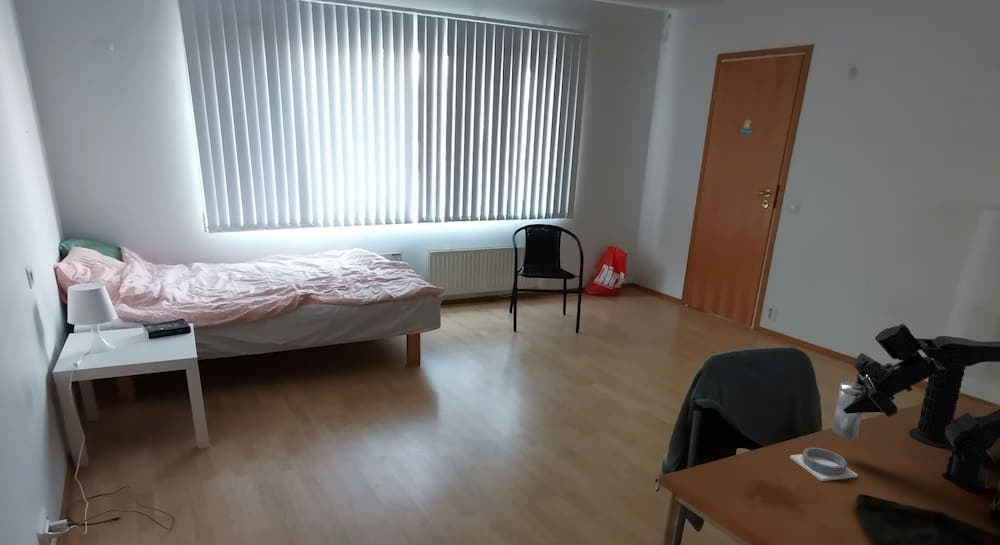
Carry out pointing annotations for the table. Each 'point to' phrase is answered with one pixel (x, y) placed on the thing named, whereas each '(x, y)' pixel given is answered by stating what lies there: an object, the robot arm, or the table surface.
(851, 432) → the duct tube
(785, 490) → the table surface
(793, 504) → the table surface
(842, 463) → the flange collar
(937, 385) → the handle grip
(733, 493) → the table surface
